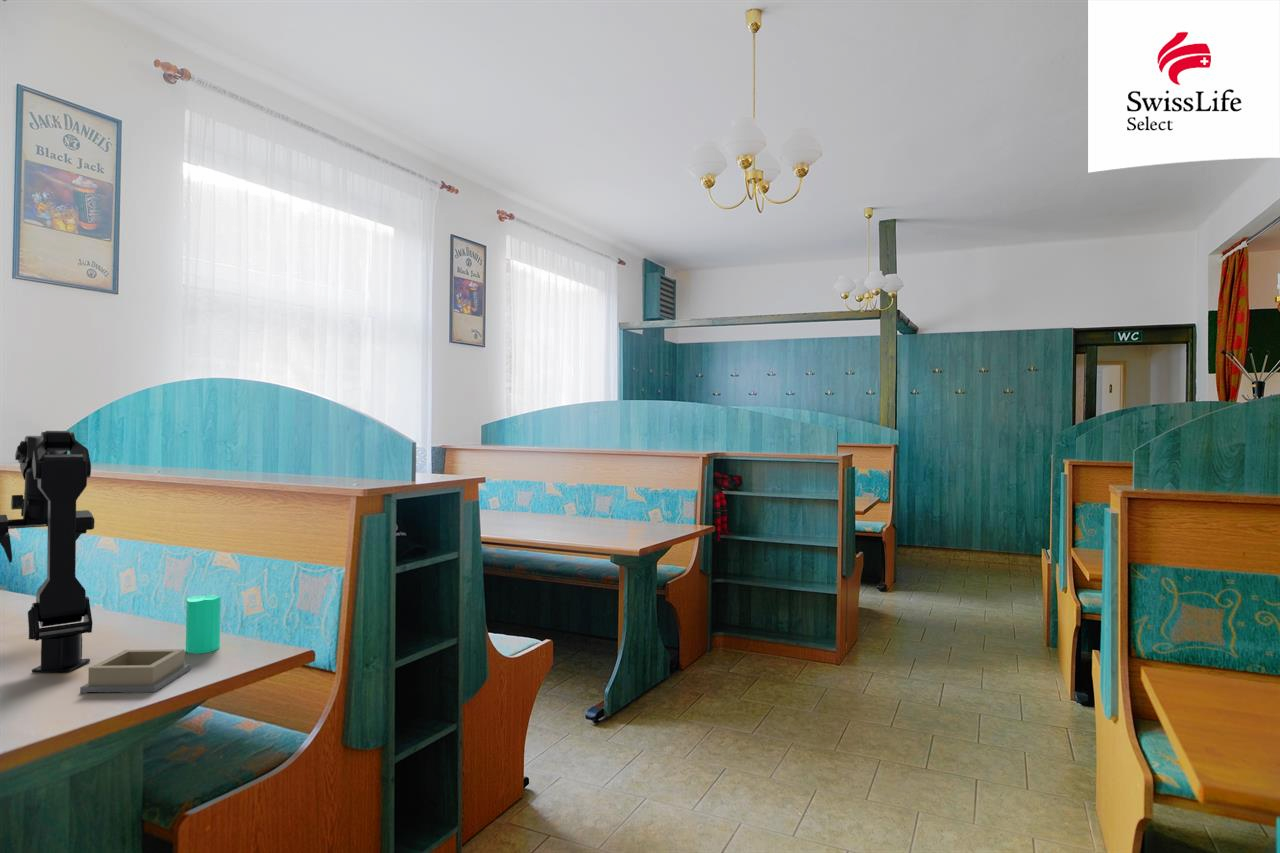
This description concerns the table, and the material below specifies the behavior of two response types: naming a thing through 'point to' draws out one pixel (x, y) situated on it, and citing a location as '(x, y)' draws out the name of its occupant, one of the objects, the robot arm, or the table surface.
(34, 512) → the robot arm
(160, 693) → the table surface
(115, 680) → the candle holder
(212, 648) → the candle
